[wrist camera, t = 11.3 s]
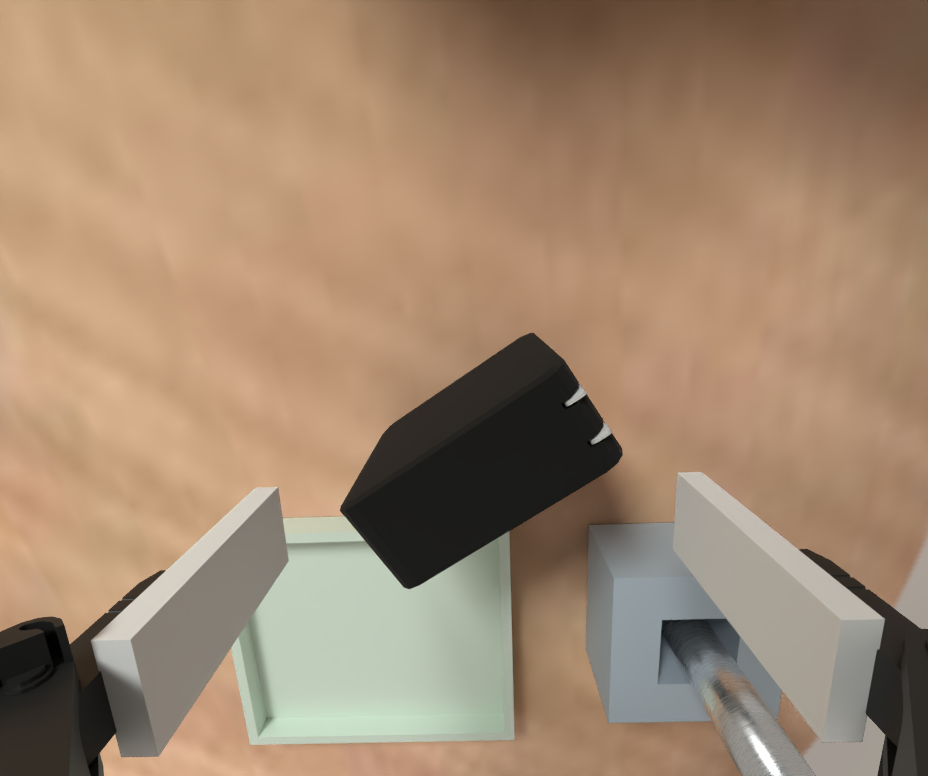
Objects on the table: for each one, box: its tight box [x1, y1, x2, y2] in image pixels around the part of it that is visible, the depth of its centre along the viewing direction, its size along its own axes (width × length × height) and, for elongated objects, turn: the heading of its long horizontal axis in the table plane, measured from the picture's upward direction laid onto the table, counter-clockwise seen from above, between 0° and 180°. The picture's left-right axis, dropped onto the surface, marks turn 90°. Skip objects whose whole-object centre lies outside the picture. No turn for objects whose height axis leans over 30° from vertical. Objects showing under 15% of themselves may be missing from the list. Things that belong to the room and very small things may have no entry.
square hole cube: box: [586, 522, 782, 723], centre depth 26 cm, size 9×9×5 cm
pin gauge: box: [661, 619, 816, 776], centre depth 21 cm, size 2×2×12 cm
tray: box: [231, 516, 515, 745], centre depth 28 cm, size 15×17×2 cm
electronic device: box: [340, 333, 623, 589], centre depth 21 cm, size 4×10×10 cm, turn 125°
